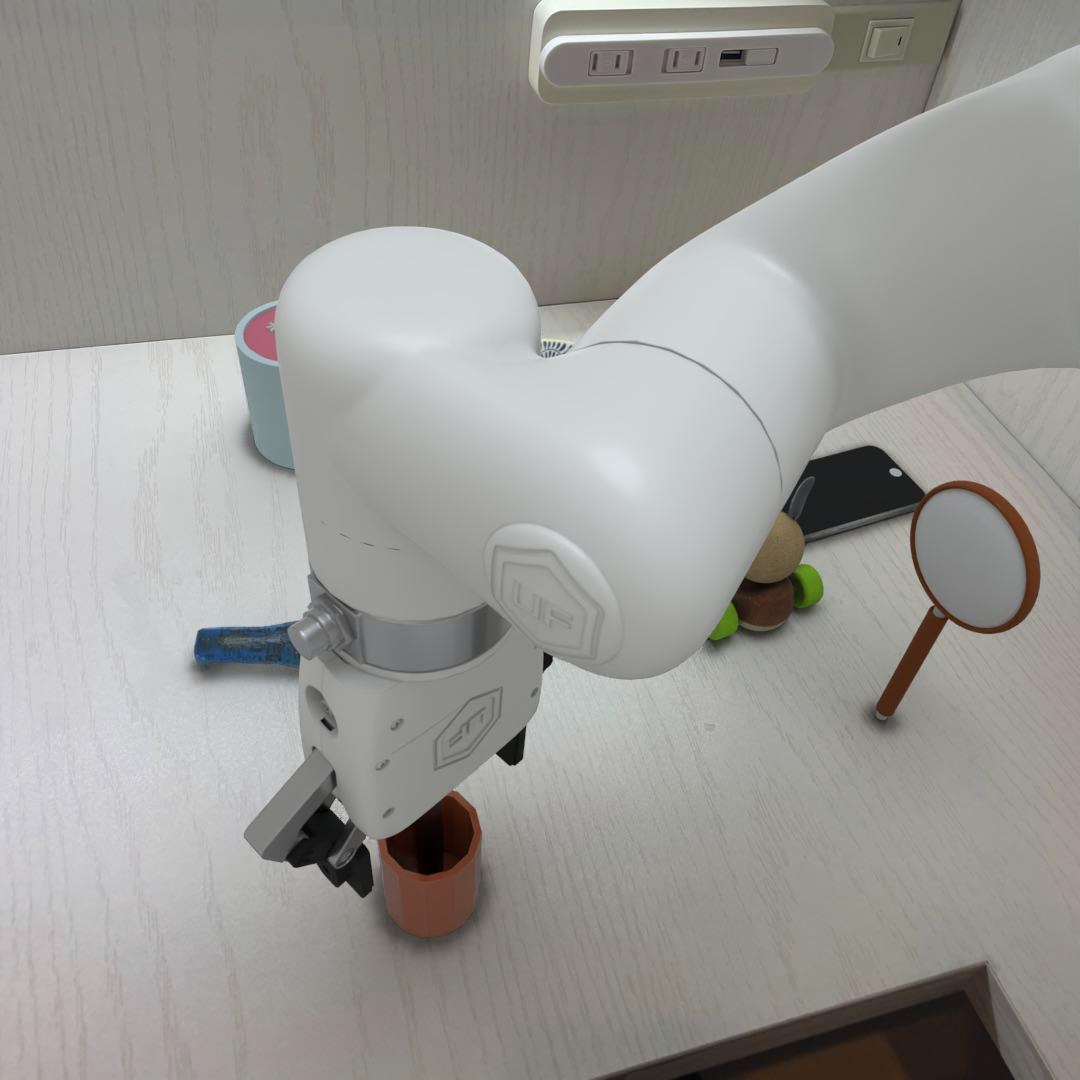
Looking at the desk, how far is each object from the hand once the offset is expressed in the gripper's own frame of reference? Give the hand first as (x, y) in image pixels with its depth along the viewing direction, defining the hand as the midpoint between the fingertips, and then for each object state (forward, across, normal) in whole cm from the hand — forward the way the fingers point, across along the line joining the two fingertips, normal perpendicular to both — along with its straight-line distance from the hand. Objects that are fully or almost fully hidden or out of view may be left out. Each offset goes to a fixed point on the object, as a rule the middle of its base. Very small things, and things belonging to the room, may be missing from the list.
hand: (425, 805), depth 47 cm
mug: (+10, +19, +34) cm, 40 cm away
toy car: (+10, +31, +1) cm, 33 cm away
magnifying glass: (+10, +29, -12) cm, 33 cm away
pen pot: (+10, 0, 0) cm, 10 cm away
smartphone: (+10, +45, +2) cm, 46 cm away
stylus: (+9, 0, 0) cm, 9 cm away
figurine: (+10, +5, +17) cm, 20 cm away
